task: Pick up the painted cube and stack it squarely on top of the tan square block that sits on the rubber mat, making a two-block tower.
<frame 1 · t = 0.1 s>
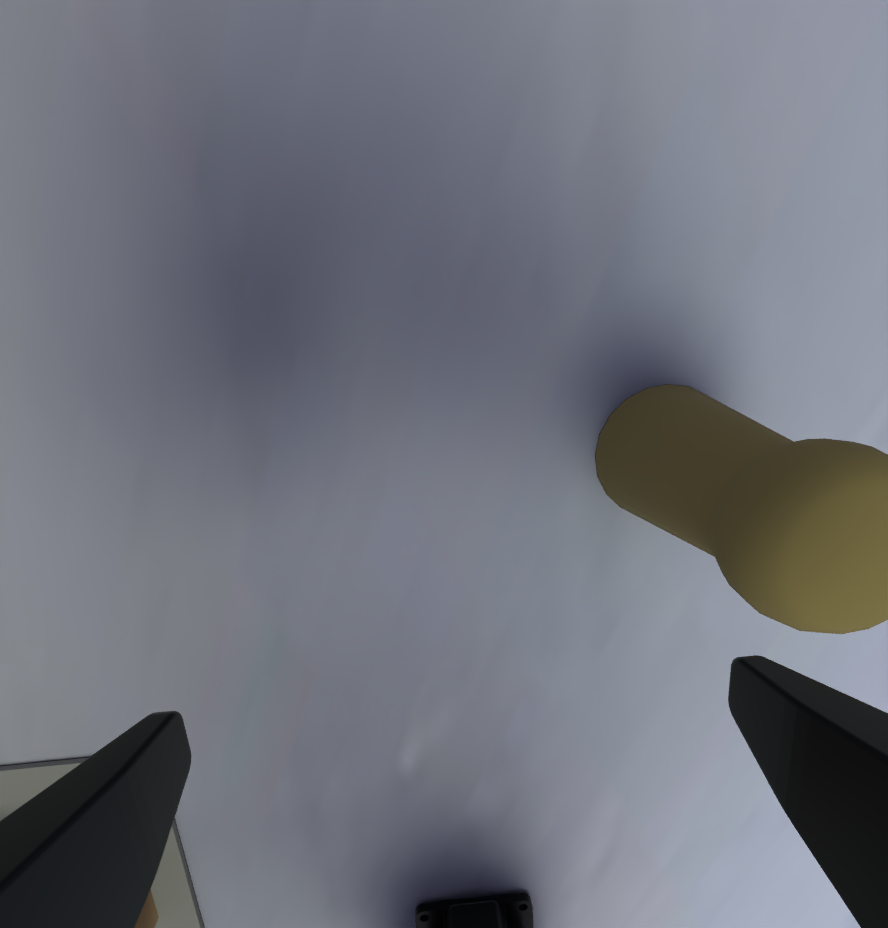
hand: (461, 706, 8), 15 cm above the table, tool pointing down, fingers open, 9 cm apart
cork: (660, 451, 23), on the table
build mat: (70, 870, 27), on the table
tan square block: (76, 875, 27), resting on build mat
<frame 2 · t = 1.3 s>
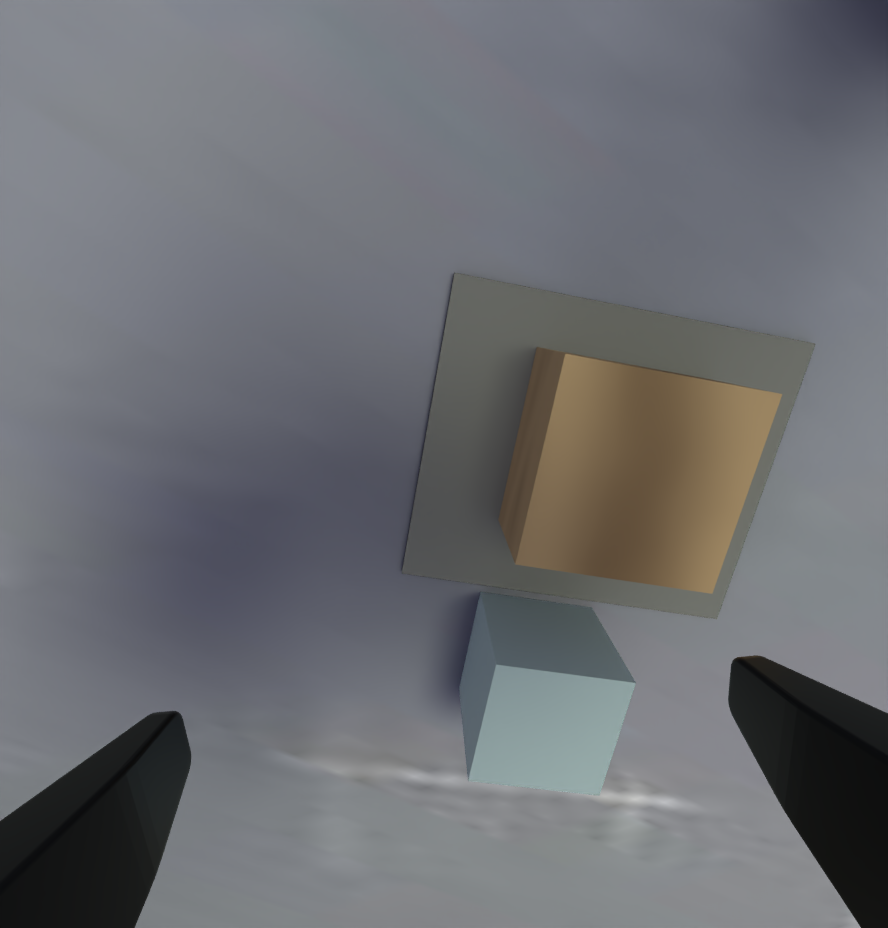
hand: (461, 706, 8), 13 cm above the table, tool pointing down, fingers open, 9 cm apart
slate block: (523, 647, 23), on the table
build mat: (596, 461, 21), on the table
tan square block: (602, 451, 21), resting on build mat
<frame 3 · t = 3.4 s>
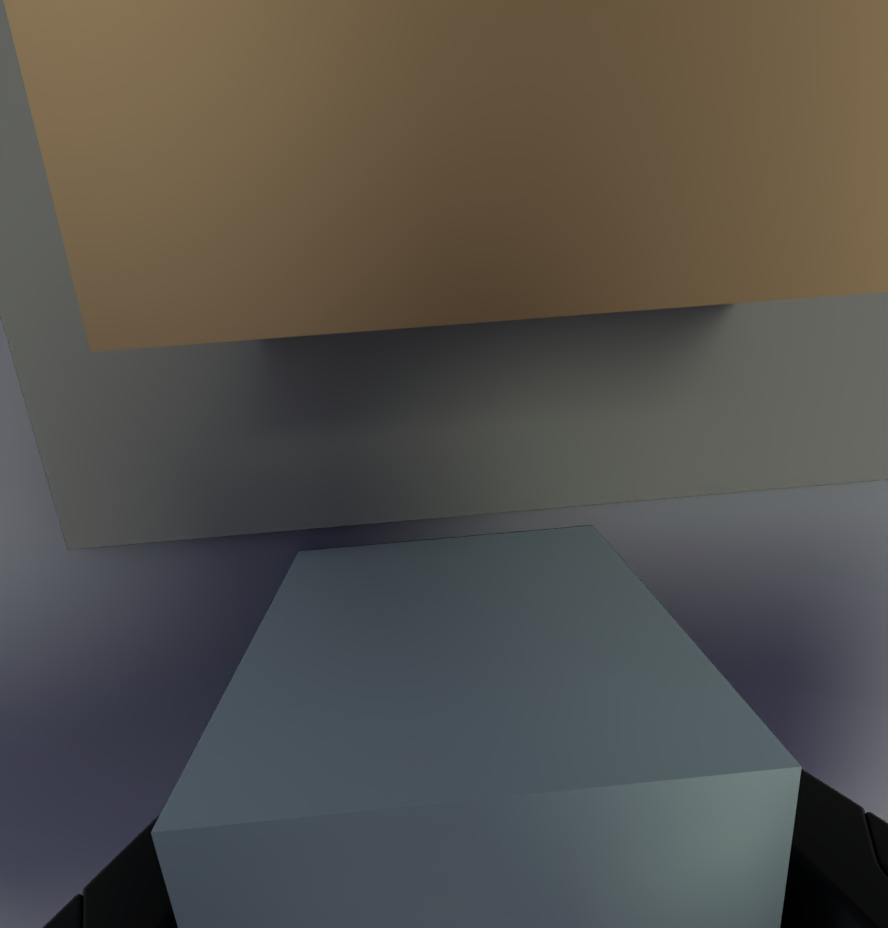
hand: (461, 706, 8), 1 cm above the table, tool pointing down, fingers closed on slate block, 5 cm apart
slate block: (456, 665, 9), on the table, touching gripper
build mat: (487, 91, 7), on the table
tan square block: (488, 36, 7), resting on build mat
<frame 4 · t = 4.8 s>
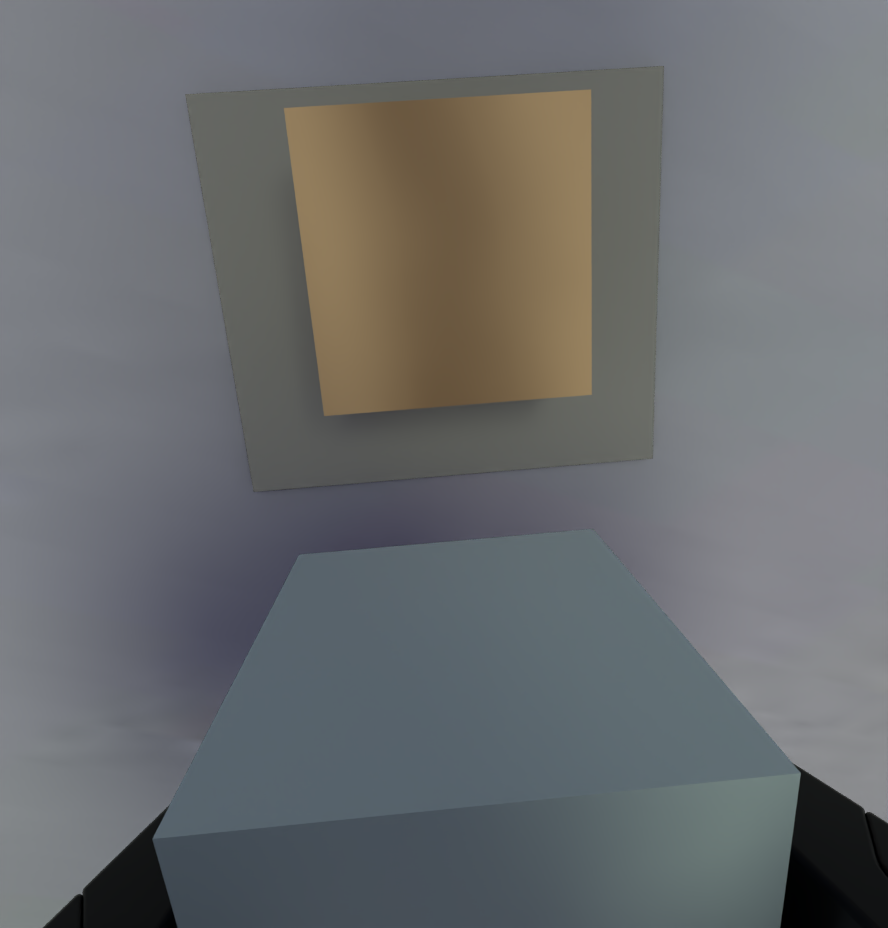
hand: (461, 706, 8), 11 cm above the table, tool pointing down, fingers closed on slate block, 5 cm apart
slate block: (456, 668, 9), point 10 cm above the table, touching gripper
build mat: (442, 295, 17), on the table
tan square block: (441, 278, 17), resting on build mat
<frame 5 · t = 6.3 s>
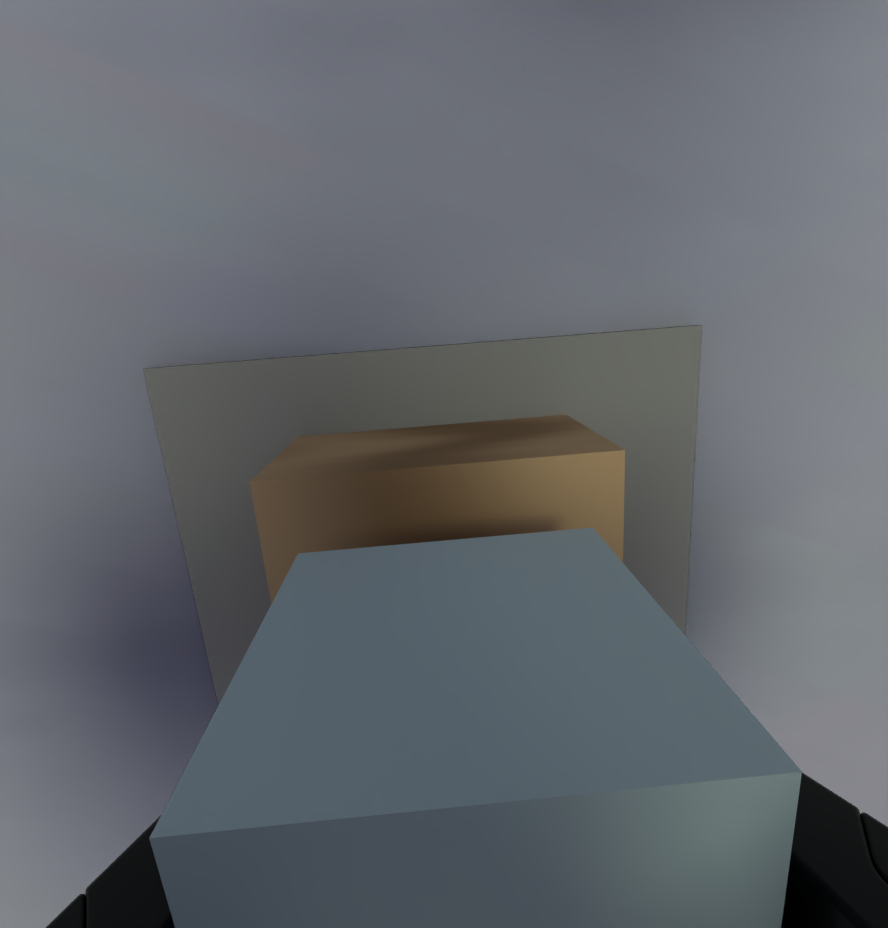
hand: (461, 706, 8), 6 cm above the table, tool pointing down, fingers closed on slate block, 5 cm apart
slate block: (456, 667, 9), point 5 cm above the table, touching gripper
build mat: (443, 560, 15), on the table
tan square block: (443, 549, 14), resting on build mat
when the fingers open (6 cm above the table, at t = 6.4 s): slate block drops 1 cm, resting on tan square block.
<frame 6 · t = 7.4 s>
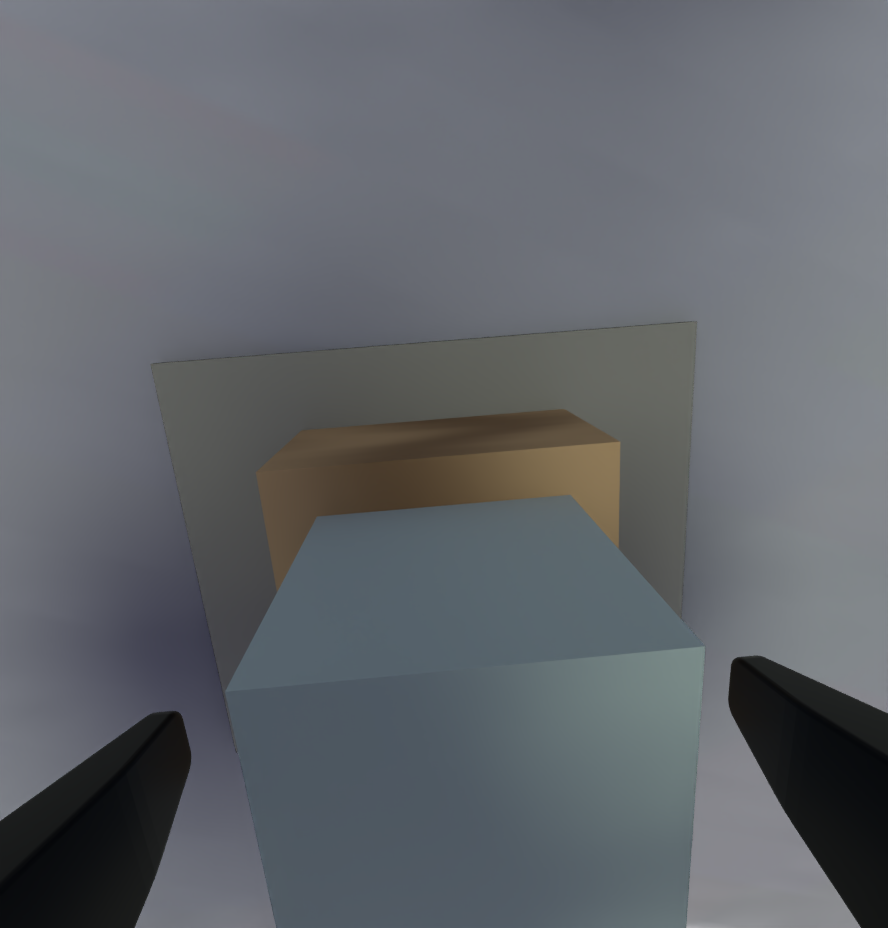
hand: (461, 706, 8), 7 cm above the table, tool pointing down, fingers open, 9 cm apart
slate block: (453, 618, 11), point 4 cm above the table, touching tan square block
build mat: (444, 552, 15), on the table
tan square block: (443, 541, 15), resting on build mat, touching slate block
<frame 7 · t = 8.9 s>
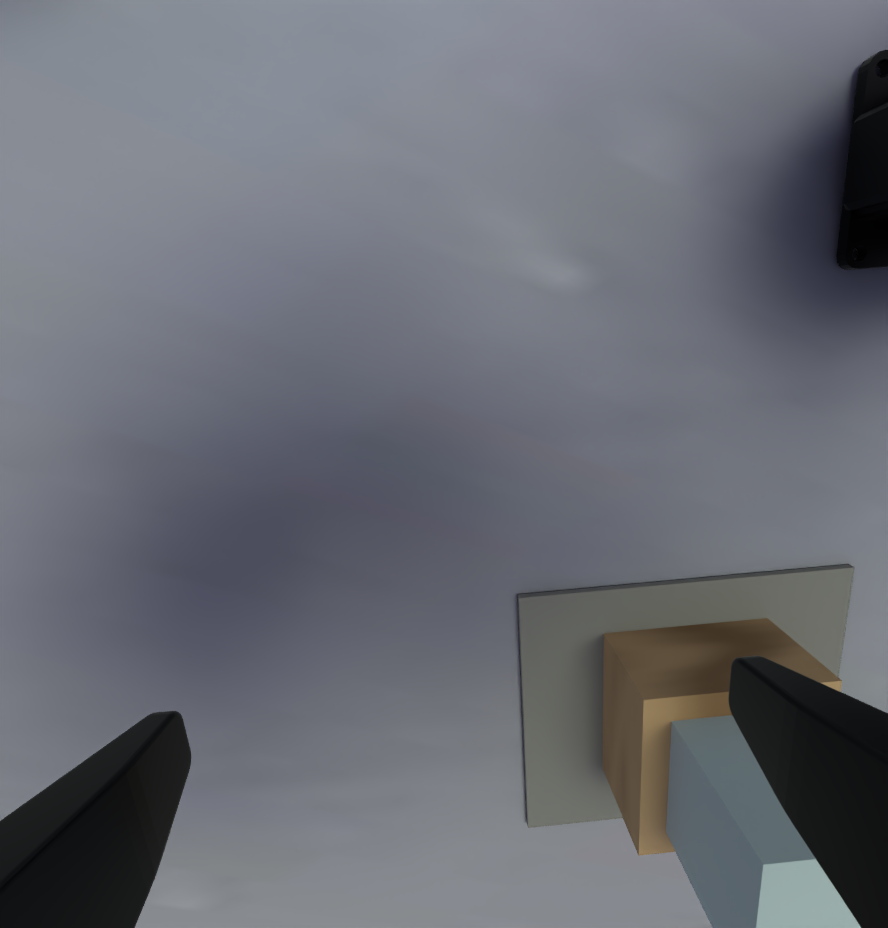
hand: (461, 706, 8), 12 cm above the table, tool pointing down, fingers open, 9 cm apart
slate block: (736, 771, 19), point 4 cm above the table, touching tan square block
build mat: (678, 700, 23), on the table
tan square block: (681, 695, 23), resting on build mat, touching slate block
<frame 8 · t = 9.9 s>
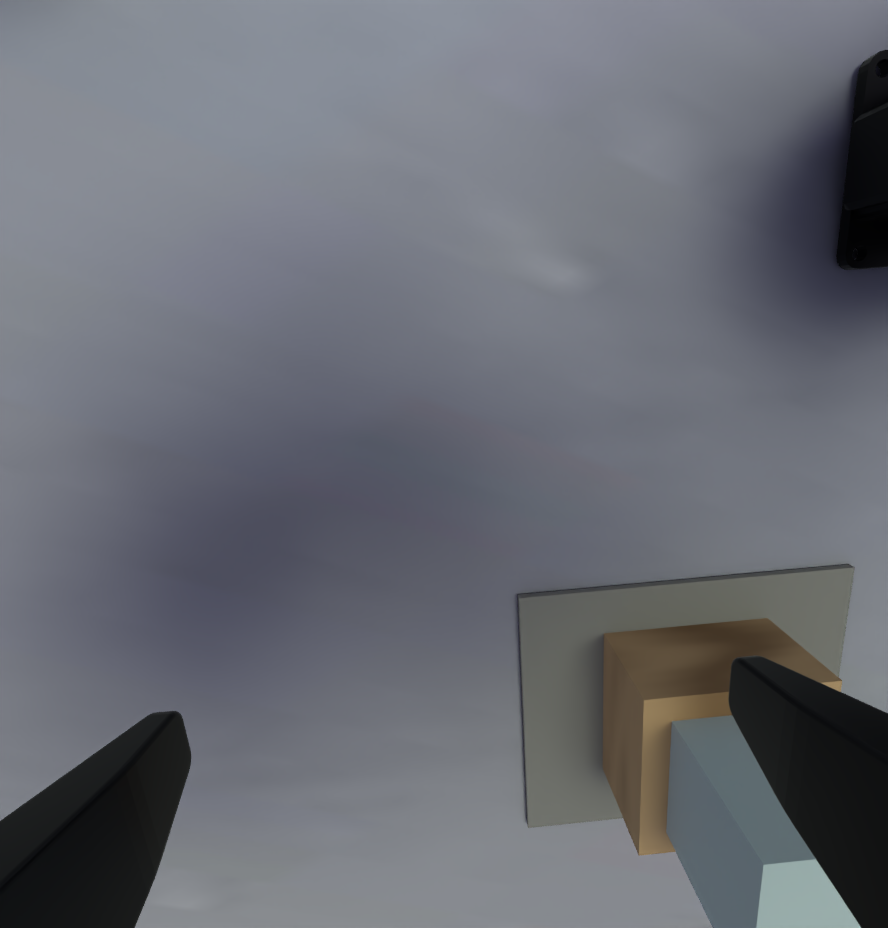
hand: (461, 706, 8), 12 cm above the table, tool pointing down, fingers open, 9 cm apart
slate block: (736, 771, 19), point 4 cm above the table, touching tan square block
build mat: (678, 700, 23), on the table
tan square block: (682, 695, 23), resting on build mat, touching slate block
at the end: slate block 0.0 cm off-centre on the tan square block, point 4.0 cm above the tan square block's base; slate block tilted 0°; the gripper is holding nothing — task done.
